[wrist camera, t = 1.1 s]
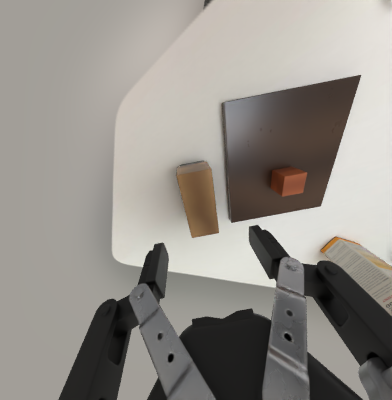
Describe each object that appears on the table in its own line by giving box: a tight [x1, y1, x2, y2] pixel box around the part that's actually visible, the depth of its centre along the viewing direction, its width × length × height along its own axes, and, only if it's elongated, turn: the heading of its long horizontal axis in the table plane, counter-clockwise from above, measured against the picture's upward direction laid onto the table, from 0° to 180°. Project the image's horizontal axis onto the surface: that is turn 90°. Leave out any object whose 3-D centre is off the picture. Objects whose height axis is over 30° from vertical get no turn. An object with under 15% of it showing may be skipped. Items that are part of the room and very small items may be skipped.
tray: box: [222, 75, 361, 223], centre depth 21 cm, size 18×16×1 cm
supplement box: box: [321, 237, 392, 316], centre depth 27 cm, size 8×5×13 cm, turn 69°
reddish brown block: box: [271, 167, 307, 196], centre depth 20 cm, size 3×3×3 cm
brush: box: [176, 161, 219, 238], centre depth 20 cm, size 4×10×6 cm, turn 10°
